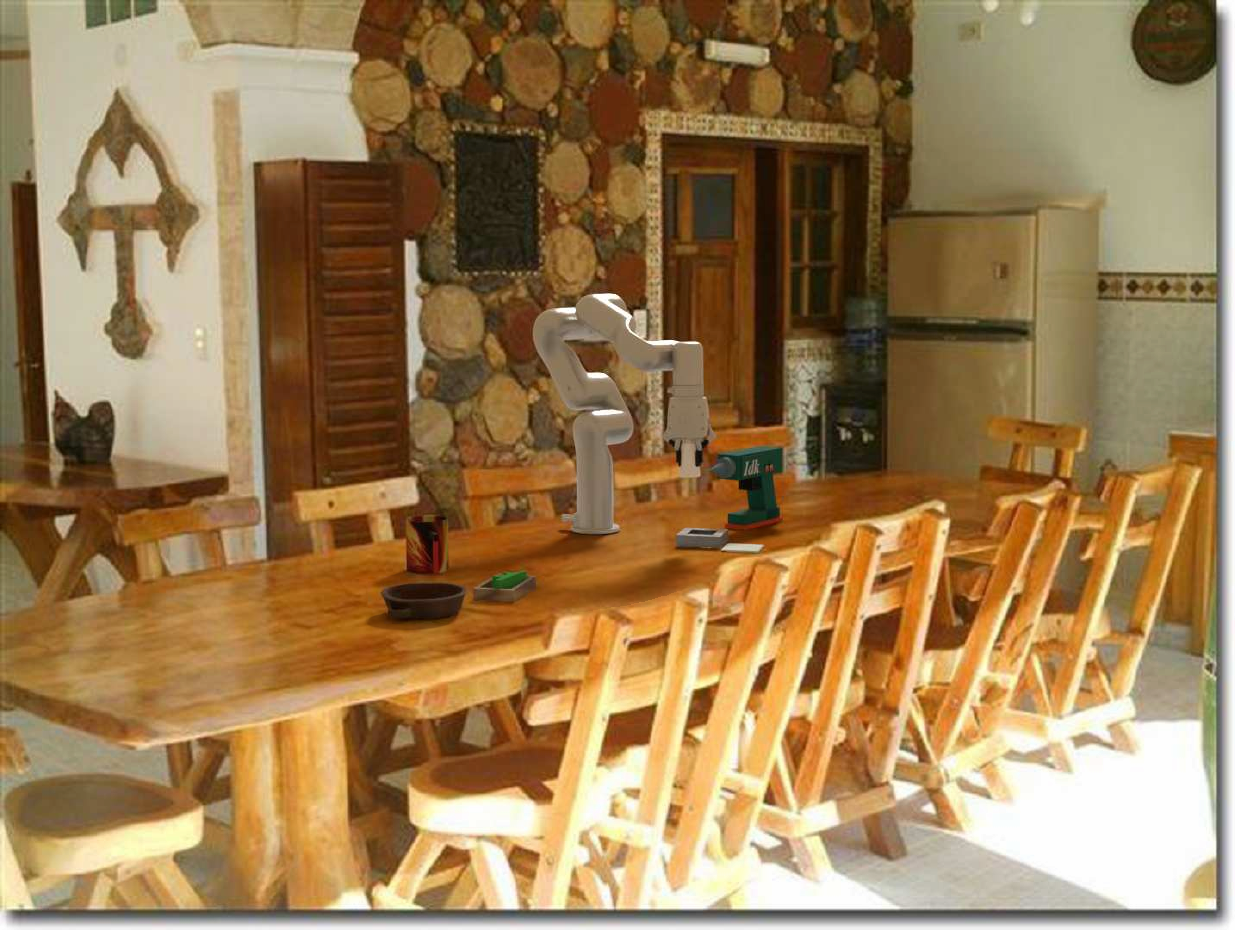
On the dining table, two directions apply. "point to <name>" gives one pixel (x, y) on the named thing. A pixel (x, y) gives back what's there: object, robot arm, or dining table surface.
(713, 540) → the block
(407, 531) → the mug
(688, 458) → the pepper shaker
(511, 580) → the green bumpy block
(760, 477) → the power tool
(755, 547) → the pad
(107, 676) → the dining table surface
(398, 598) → the dish
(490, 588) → the tray
